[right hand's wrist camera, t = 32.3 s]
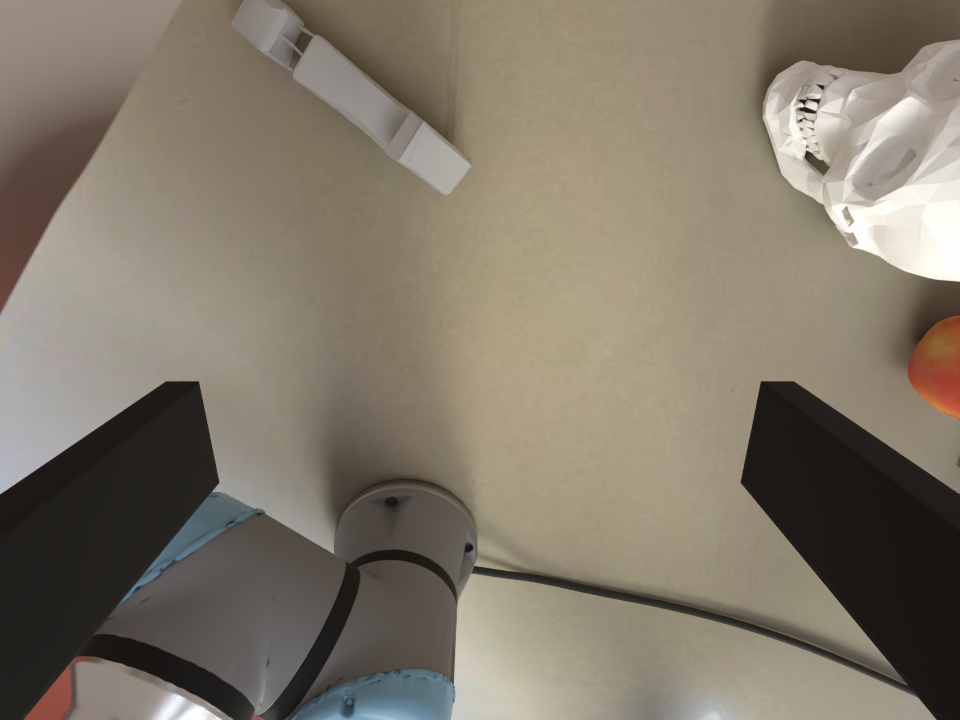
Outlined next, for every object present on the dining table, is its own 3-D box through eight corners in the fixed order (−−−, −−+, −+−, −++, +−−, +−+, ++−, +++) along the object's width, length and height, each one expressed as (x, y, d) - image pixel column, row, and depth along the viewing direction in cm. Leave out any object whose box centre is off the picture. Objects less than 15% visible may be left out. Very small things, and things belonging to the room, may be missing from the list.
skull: (806, 5, 40) (992, -79, 25) (1018, 142, 43) (1291, 139, 29) (704, 171, 44) (810, 182, 30) (903, 284, 48) (1087, 343, 33)
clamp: (476, 162, 43) (468, 155, 37) (449, 199, 44) (437, 198, 38) (276, -3, 41) (230, -43, 34) (252, 40, 42) (203, 9, 35)
